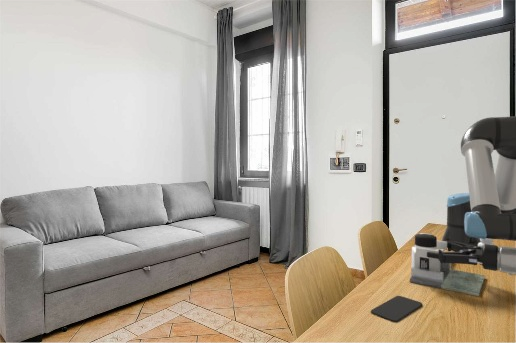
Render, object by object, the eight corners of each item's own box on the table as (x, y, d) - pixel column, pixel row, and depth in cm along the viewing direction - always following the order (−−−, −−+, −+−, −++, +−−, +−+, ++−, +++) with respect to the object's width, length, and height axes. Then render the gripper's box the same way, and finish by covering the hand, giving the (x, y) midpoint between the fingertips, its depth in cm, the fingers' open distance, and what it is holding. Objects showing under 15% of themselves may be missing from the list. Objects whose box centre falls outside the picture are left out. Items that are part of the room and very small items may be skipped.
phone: (368, 311, 87) (397, 294, 96) (368, 314, 87) (397, 297, 96) (396, 321, 81) (424, 303, 91) (396, 324, 81) (424, 306, 91)
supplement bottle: (476, 264, 124) (476, 237, 124) (478, 260, 128) (479, 235, 128) (493, 267, 121) (494, 240, 120) (496, 263, 125) (496, 237, 124)
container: (440, 278, 108) (440, 237, 107) (414, 275, 110) (414, 236, 110) (436, 270, 115) (436, 232, 114) (411, 268, 117) (411, 231, 117)
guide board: (423, 267, 121) (423, 256, 121) (484, 278, 110) (484, 266, 110) (409, 281, 107) (409, 269, 107) (478, 296, 96) (478, 282, 96)
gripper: (495, 283, 90) (411, 268, 104) (500, 260, 110) (429, 250, 123) (496, 256, 90) (411, 244, 103) (501, 237, 109) (429, 229, 123)
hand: (421, 247), depth 113 cm, fingers open, 13 cm apart
